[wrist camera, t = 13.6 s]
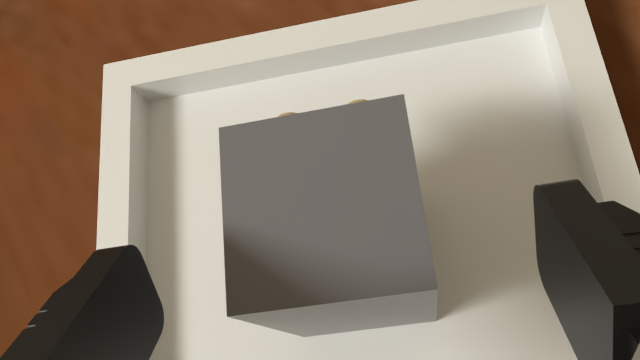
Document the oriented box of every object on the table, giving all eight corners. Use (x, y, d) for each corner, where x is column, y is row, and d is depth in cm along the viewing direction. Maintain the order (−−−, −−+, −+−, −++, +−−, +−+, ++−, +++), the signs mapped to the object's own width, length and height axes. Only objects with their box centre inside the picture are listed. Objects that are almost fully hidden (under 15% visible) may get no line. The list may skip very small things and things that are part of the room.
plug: (409, 161, 20) (395, 48, 13) (436, 321, 18) (437, 289, 11) (290, 181, 21) (216, 83, 14) (304, 337, 19) (226, 316, 12)
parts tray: (562, 3, 21) (574, -32, 20) (724, 545, 15) (765, 569, 13) (129, 88, 24) (103, 64, 22) (118, 579, 18) (82, 603, 16)
